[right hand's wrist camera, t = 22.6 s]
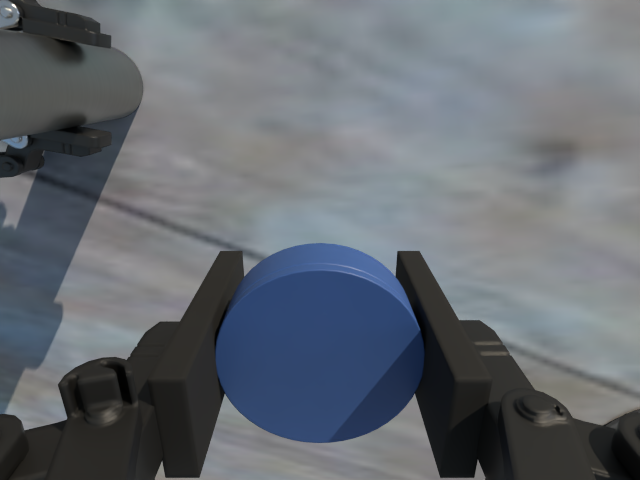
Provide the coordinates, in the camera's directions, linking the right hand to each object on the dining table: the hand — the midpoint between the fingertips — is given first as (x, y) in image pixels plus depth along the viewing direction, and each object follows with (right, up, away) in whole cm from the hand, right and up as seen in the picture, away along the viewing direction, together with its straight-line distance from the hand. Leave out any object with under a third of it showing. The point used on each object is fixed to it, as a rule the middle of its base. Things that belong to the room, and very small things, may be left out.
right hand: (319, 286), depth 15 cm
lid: (0, -1, -4) cm, 4 cm away
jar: (-15, +13, +15) cm, 25 cm away
